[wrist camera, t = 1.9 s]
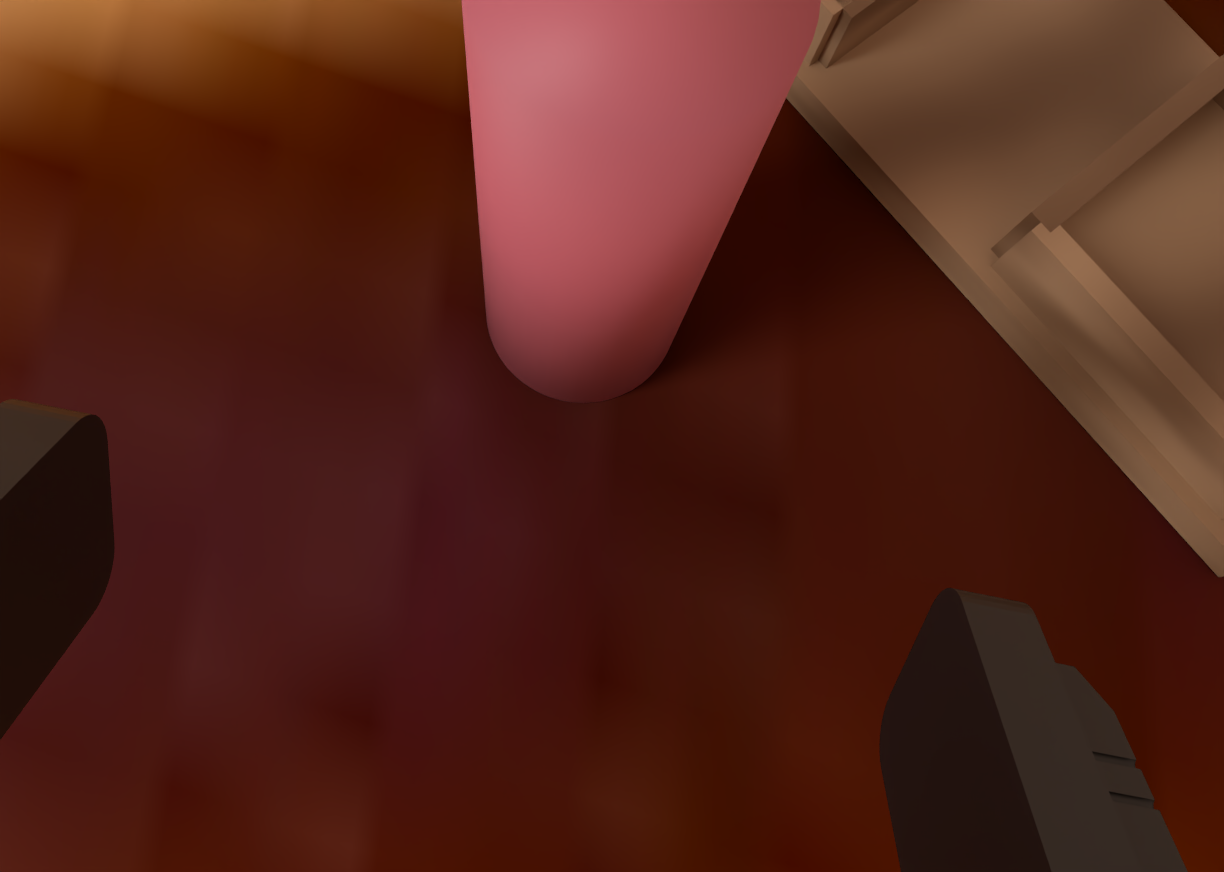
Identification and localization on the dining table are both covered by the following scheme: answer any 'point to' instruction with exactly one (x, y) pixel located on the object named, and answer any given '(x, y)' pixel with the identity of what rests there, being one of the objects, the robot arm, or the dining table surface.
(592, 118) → the candle loose
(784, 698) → the dining table surface
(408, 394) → the dining table surface
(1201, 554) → the holder
